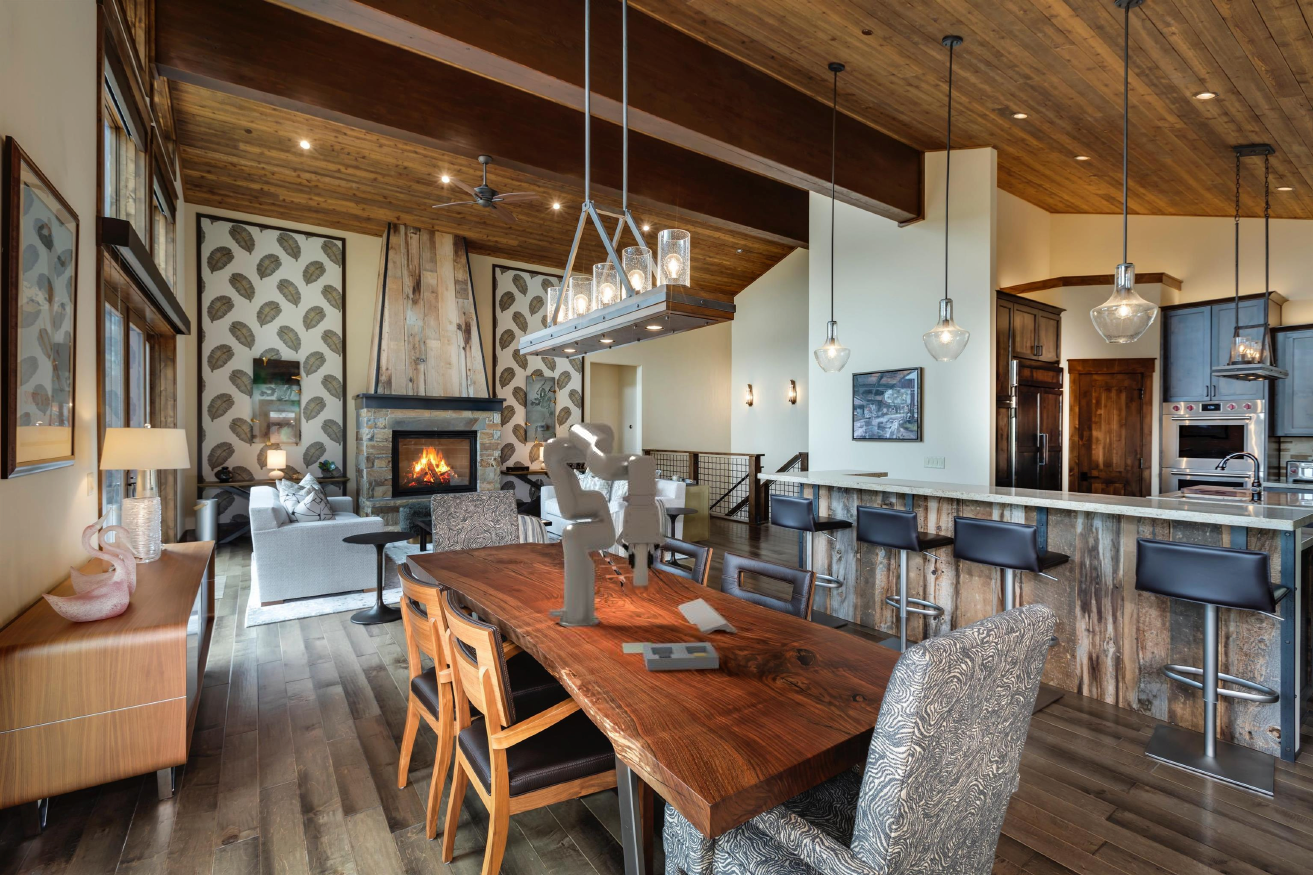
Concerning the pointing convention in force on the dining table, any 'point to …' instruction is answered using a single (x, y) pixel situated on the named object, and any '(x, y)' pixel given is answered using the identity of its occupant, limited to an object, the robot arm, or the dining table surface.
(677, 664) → the socket block
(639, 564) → the plug
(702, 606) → the crown molding
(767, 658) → the dining table surface
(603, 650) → the dining table surface
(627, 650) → the square base plate
